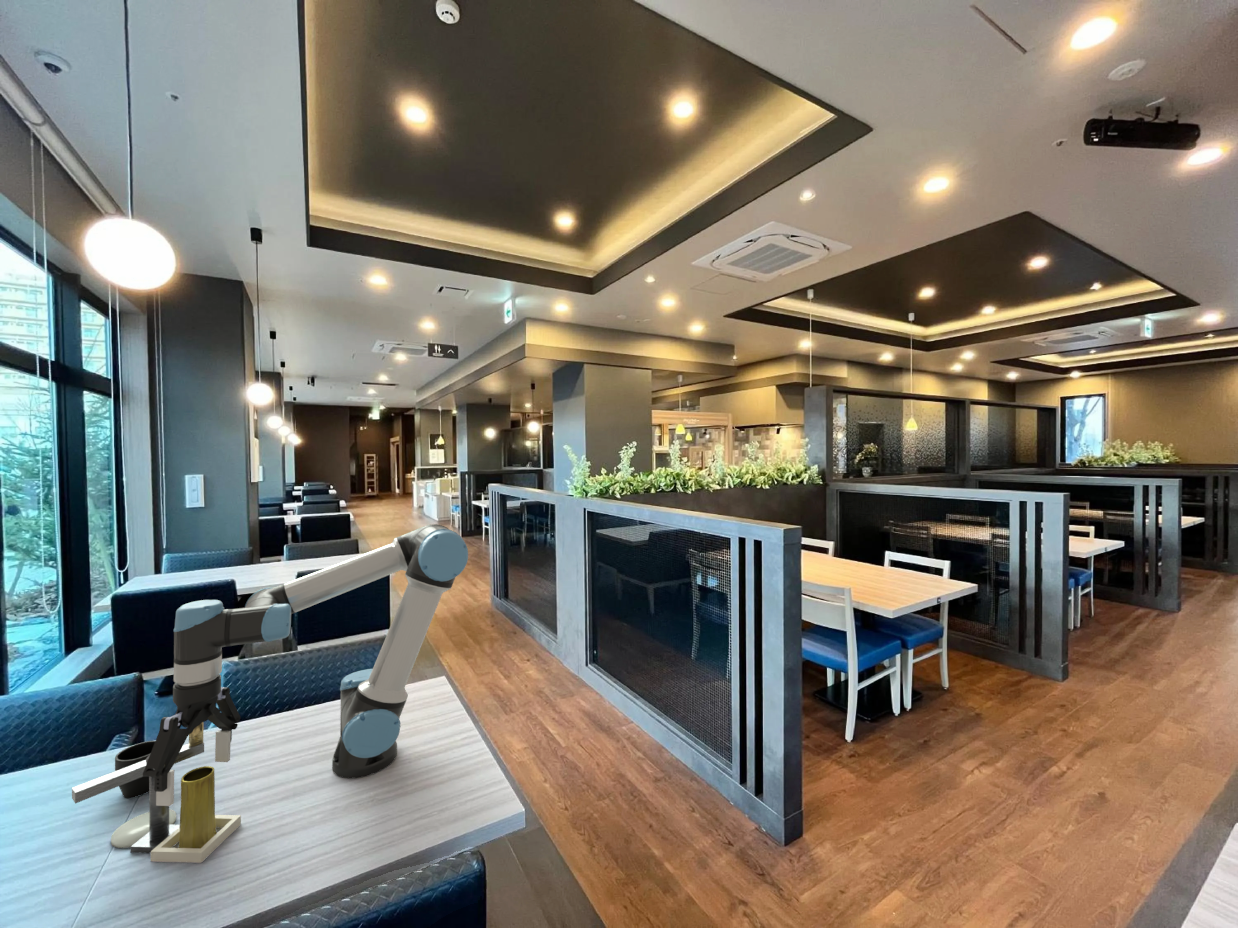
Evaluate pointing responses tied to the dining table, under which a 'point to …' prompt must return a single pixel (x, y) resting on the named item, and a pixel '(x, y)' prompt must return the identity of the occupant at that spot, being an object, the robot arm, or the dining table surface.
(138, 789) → the mug
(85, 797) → the bar
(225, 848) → the dining table surface
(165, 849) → the cream rectangular frame
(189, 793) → the vase
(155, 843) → the post
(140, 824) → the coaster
